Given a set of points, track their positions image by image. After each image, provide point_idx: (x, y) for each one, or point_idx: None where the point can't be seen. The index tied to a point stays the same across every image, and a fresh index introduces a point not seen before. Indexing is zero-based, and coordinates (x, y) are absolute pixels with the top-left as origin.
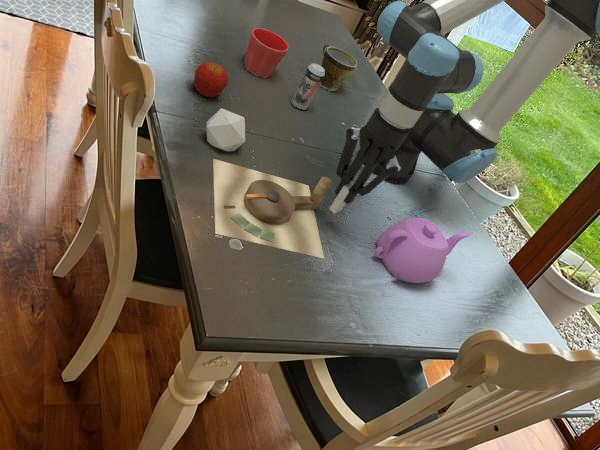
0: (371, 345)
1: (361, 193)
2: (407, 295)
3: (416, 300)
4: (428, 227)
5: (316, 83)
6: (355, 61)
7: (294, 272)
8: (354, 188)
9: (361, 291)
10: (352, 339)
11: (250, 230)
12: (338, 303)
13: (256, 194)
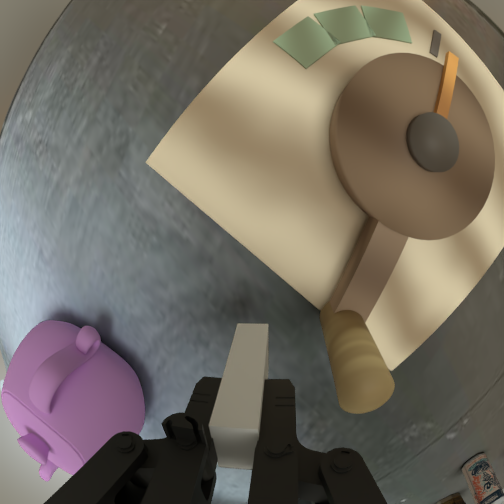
0: (2, 126)
1: (122, 442)
2: (35, 307)
3: (27, 313)
4: (26, 447)
5: (481, 498)
6: None
7: (171, 55)
8: (181, 450)
9: (57, 207)
10: (20, 94)
11: (344, 15)
12: (61, 116)
13: (453, 87)
